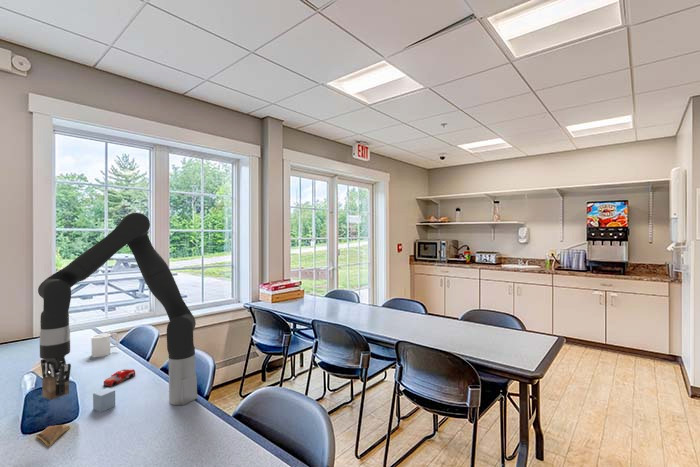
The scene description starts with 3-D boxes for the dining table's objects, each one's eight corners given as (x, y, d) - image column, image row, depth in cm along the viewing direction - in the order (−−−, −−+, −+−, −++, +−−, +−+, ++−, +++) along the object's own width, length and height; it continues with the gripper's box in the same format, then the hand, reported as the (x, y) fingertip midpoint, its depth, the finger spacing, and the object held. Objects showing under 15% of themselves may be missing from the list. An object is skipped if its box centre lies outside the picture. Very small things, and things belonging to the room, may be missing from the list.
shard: (49, 448, 106) (49, 443, 106) (20, 451, 105) (20, 445, 105) (71, 428, 117) (71, 423, 117) (45, 431, 115) (45, 426, 115)
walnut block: (69, 393, 113) (68, 375, 113) (50, 400, 109) (50, 381, 109) (61, 390, 116) (60, 372, 116) (42, 396, 111) (42, 378, 111)
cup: (120, 352, 188) (119, 334, 188) (92, 358, 180) (92, 339, 180) (117, 349, 194) (117, 331, 194) (90, 354, 186) (90, 335, 186)
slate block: (115, 406, 131) (115, 390, 131) (100, 412, 126) (100, 396, 126) (107, 403, 133) (107, 387, 133) (93, 409, 129) (93, 393, 129)
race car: (109, 388, 146) (109, 379, 146) (100, 386, 148) (100, 377, 148) (137, 375, 159) (137, 367, 159) (128, 374, 160) (128, 365, 160)
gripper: (80, 340, 112) (81, 393, 112) (57, 334, 119) (58, 384, 119) (52, 347, 106) (53, 403, 106) (29, 340, 112) (30, 393, 112)
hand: (55, 392), depth 112 cm, fingers closed on walnut block, 5 cm apart
